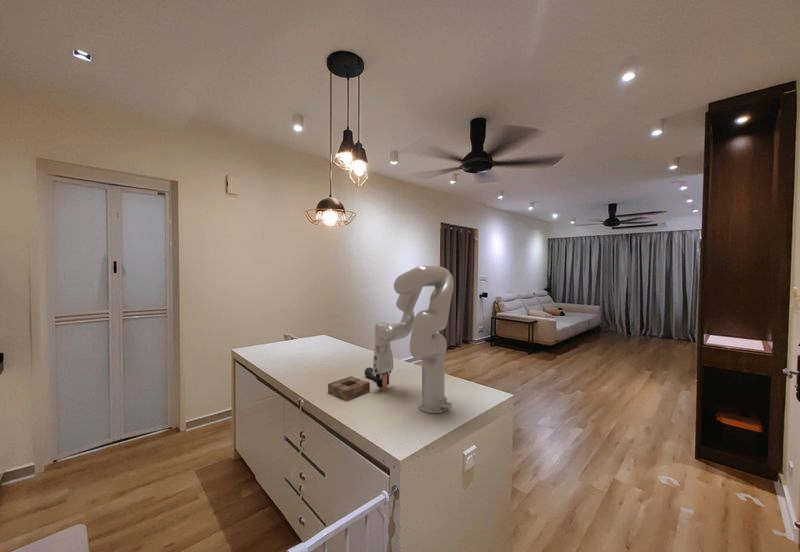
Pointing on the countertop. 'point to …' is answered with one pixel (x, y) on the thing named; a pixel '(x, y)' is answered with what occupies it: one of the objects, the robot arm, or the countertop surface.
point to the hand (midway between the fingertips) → (383, 385)
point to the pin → (384, 382)
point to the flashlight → (369, 373)
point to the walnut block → (348, 388)
